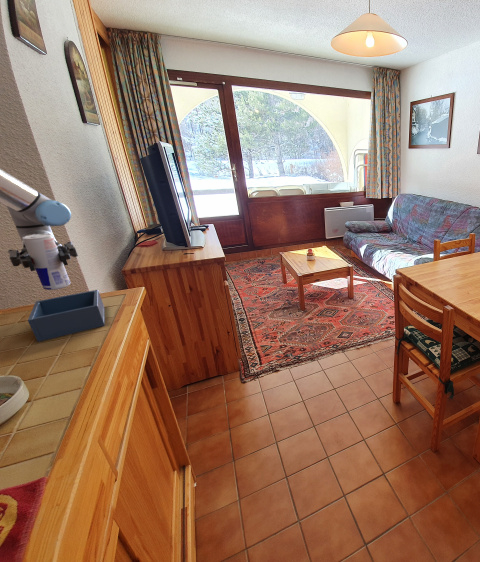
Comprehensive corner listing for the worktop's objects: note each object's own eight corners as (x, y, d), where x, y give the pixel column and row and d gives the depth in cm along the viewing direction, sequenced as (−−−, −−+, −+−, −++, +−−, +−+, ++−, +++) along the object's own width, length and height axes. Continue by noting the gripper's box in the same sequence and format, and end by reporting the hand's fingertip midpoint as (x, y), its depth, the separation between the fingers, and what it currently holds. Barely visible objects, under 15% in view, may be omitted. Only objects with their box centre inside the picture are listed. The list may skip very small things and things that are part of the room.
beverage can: (70, 281, 91) (51, 232, 86) (71, 287, 88) (51, 235, 82) (44, 286, 88) (22, 235, 82) (44, 292, 84) (21, 239, 78)
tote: (37, 342, 75) (27, 320, 72) (44, 321, 84) (35, 301, 81) (104, 325, 82) (97, 305, 80) (104, 307, 91) (97, 289, 89)
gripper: (84, 251, 103) (98, 267, 89) (1, 264, 90) (1, 286, 76) (77, 229, 100) (89, 242, 86) (-11, 239, 88) (-13, 257, 73)
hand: (48, 263), depth 81 cm, fingers closed on beverage can, 6 cm apart
